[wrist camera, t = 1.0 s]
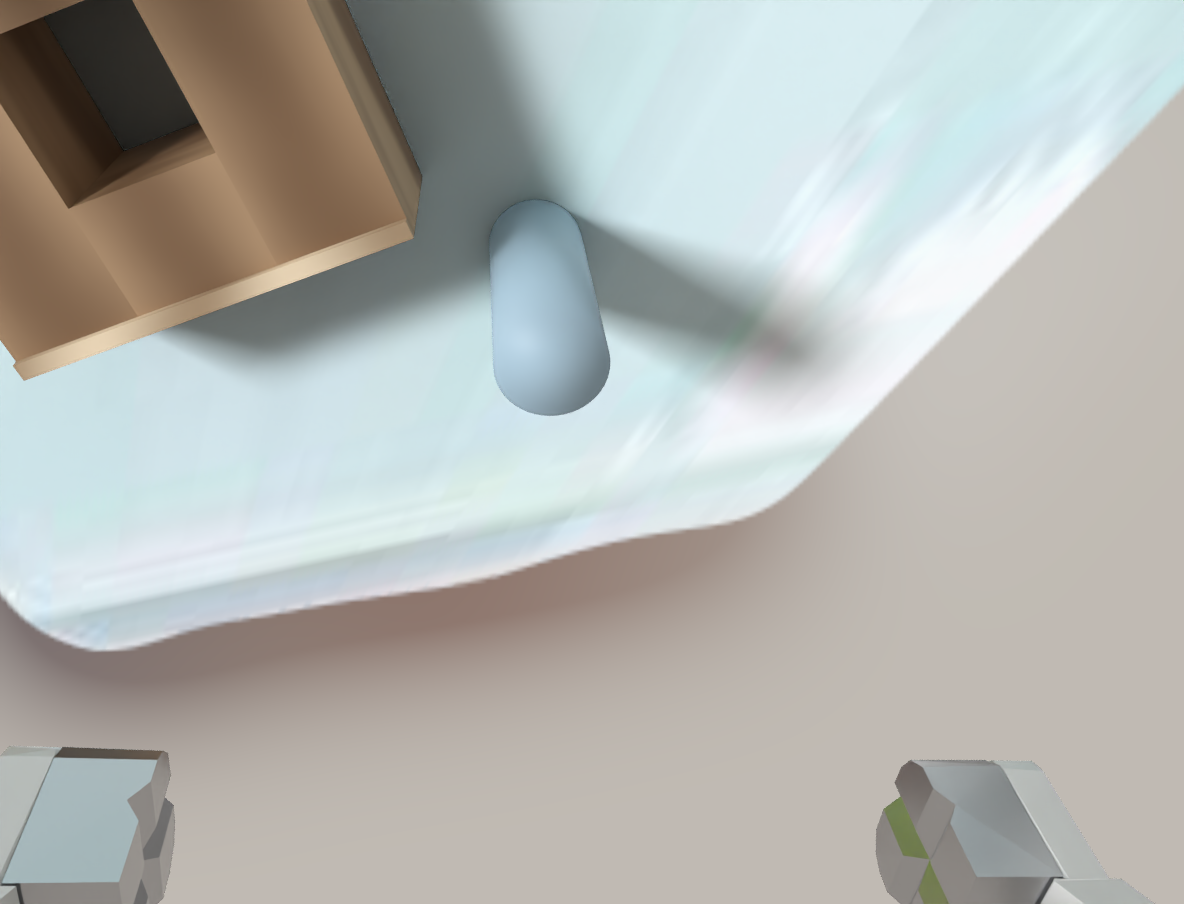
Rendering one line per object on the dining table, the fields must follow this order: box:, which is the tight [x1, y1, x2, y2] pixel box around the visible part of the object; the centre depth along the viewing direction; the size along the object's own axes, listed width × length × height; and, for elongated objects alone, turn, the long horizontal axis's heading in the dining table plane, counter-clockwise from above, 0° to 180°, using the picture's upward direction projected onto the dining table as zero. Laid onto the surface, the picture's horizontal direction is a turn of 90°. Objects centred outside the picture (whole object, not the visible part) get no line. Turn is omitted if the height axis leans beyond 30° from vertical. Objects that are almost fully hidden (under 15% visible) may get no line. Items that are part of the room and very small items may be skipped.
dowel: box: [489, 200, 610, 416], centre depth 36 cm, size 4×4×10 cm
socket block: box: [0, 0, 422, 380], centre depth 33 cm, size 14×14×6 cm
